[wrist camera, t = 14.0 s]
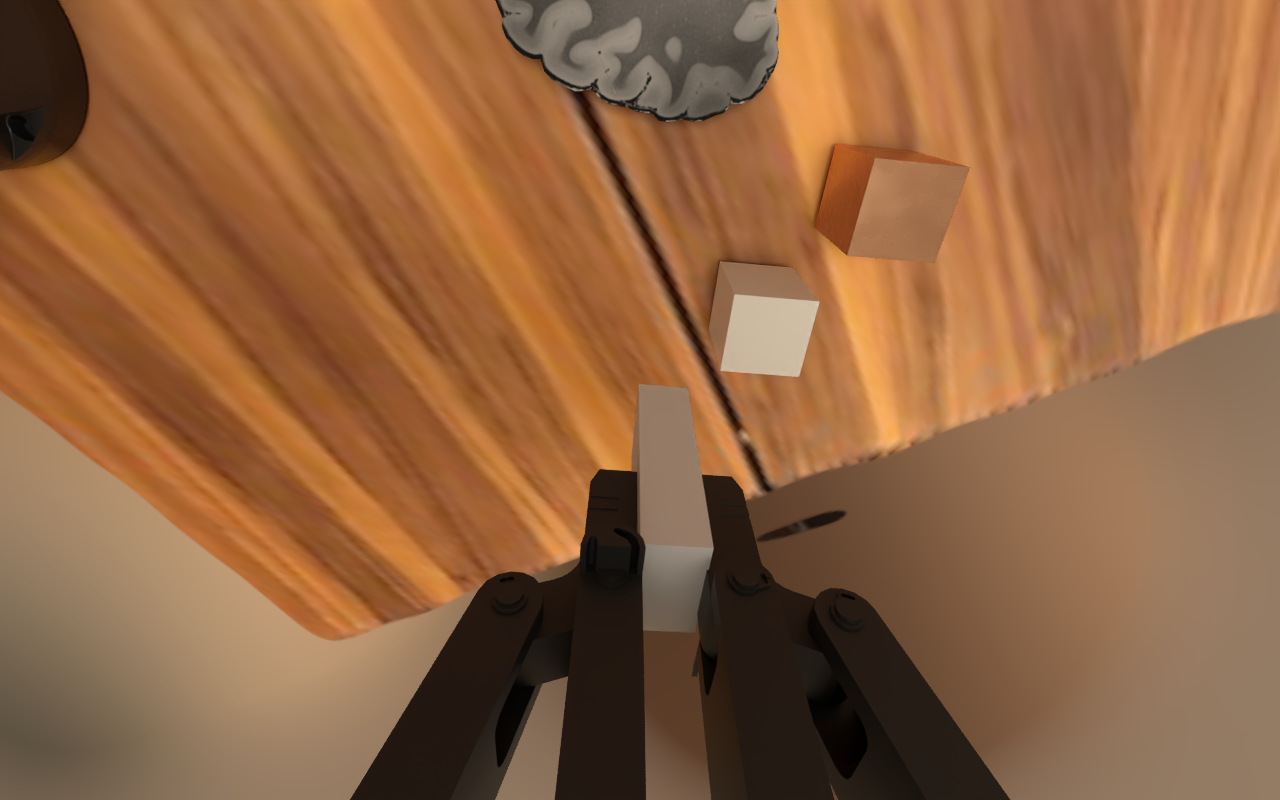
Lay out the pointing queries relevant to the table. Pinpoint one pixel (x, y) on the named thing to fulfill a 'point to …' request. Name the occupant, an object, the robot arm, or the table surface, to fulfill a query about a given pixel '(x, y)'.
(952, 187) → the tan brown block
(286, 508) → the table surface
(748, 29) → the brain slice
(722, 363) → the cream sugar cube
